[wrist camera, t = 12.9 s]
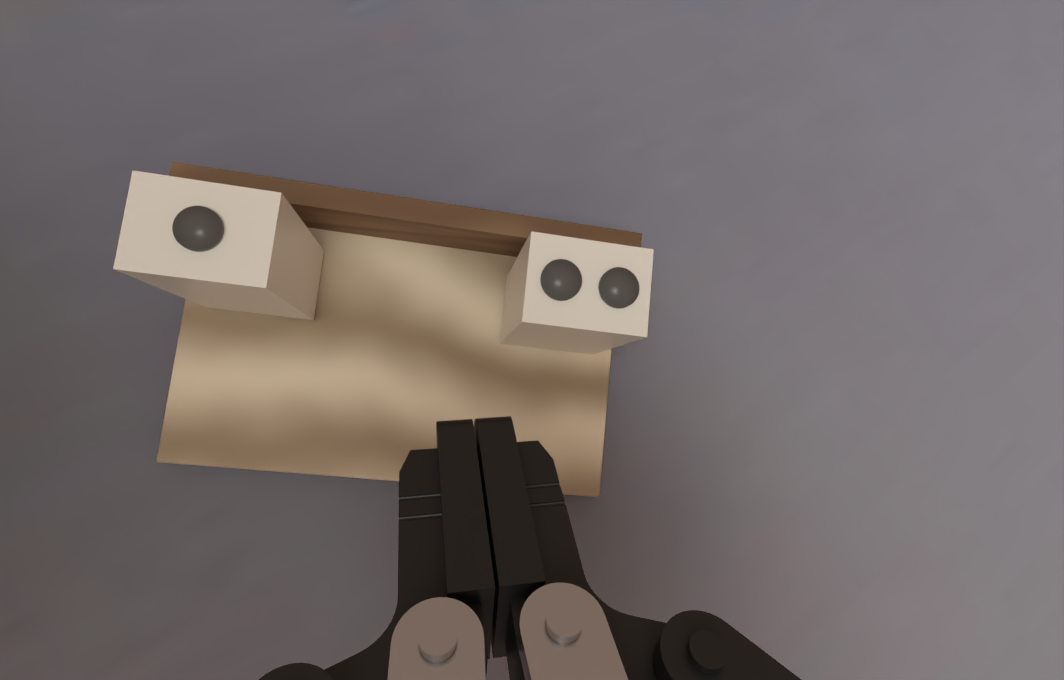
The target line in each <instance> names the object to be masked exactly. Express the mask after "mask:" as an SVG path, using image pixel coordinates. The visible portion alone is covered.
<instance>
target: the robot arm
mask: <svg viewBox="0 0 1064 680" xmlns="http://www.w3.org/2000/svg"><path fill="white" fill-rule="evenodd" d="M436 438H437V448H432V449H418V450H410V452H409V454H408V456H407V458H406V460H405V462H404V464H403V465H402V467H401V469H400V471H399V551H398V603H397V607H396V611H395V614H394V616H393V619H392V621H391V623H390V624H389V626H388V628H387V629H386V630H385V632H384V633H383V634H382V635H381V636H380V637H379V638H378V639H377V640H376V641H375V642H374V643H373V644H372V645H370V646H369V647H368V648H366V649H365V650H363V651H361V652H359V653H358V654H356V655H354V656H352V657H349V658H347V659H345V660H343V661H341V662H339V663H337V664H335V665H333V666H331V667H329V668H327V669H325V670H323V669H321V668H320V667H318V666H315V665H312V664H308V663H293V664H288V665H284V666H281V667H279V668H276V669H274V670H272V671H270V672H269V673H267V674H265V675H264V676H263V677H261V678H260V679H259V680H486V672H487V659H489V657H490V645H491V644H492V653H493V658H497V657H503V656H507V662H508V670H509V677H510V680H801V679H800V678H798V677H797V676H796V675H794V674H793V673H792V672H790V671H789V670H788V669H786V668H785V667H784V666H783V665H781V664H780V663H779V662H777V661H776V660H775V659H773V658H772V657H771V656H769V655H768V654H767V653H765V652H764V651H763V650H762V649H760V648H759V647H758V646H756V645H755V644H754V643H752V642H751V641H750V640H748V639H747V638H746V637H744V636H743V635H742V634H741V633H739V632H738V631H737V630H735V629H734V628H733V627H731V626H730V625H729V624H727V623H726V622H725V621H723V620H722V619H720V618H719V617H717V616H714V615H712V614H710V613H707V612H703V611H697V610H692V611H684V612H681V613H679V614H676V615H675V616H674V617H672V618H671V619H670V620H669V621H668V622H667V623H663V622H659V621H654V620H649V619H644V618H640V617H635V616H630V615H627V614H623V613H621V612H618V611H616V610H614V609H612V608H611V607H609V606H608V605H606V604H605V603H604V602H602V601H601V600H600V599H599V598H598V597H597V596H596V595H595V594H594V592H593V591H592V589H591V588H590V586H589V585H588V583H587V581H586V578H585V575H584V572H583V569H582V565H581V561H580V557H579V554H578V550H577V546H576V542H575V538H574V535H573V531H572V527H571V523H570V520H569V516H568V512H567V508H566V505H565V504H564V497H563V493H562V490H561V486H560V485H559V478H558V475H557V471H556V467H555V463H554V460H553V458H552V457H551V456H550V454H549V453H548V452H547V451H546V450H545V448H544V447H543V446H542V445H541V443H540V442H539V441H538V440H536V441H523V442H517V440H516V435H515V430H514V426H513V421H512V418H511V416H506V417H491V418H476V419H475V420H474V424H473V420H472V419H463V420H448V421H436Z"/></svg>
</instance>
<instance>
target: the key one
mask: <svg viewBox="0 0 1064 680" xmlns="http://www.w3.org/2000/svg"><path fill="white" fill-rule="evenodd" d="M323 255H324V250H323V248H322V247H321V245H320V244H319V243H318V241H317V240H316V239H315V237H314V236H313V235H312V233H311V232H310V231H309V229H308V228H307V226H306V225H305V224H304V222H303V221H302V220H301V218H300V217H299V216H298V214H297V213H296V212H295V210H294V209H293V208H292V206H291V205H290V203H289V202H288V201H287V199H286V198H285V197H284V195H283V194H282V193H281V192H274V191H267V190H260V189H254V188H247V187H240V186H234V185H227V184H220V183H213V182H207V181H200V180H193V179H187V178H180V177H173V176H166V175H160V174H153V173H146V172H139V171H132V176H131V181H130V187H129V192H128V197H127V202H126V207H125V212H124V217H123V222H122V227H121V232H120V237H119V242H118V248H117V253H116V258H115V263H114V268H113V269H114V270H117V271H119V272H121V273H124V274H126V275H129V276H131V277H133V278H136V279H138V280H141V281H143V282H145V283H148V284H150V285H153V286H155V287H158V288H160V289H162V290H165V291H167V292H170V293H172V294H174V295H177V296H179V297H182V298H184V299H186V300H189V301H191V302H194V303H196V304H198V305H201V306H203V307H206V308H214V309H222V310H231V311H239V312H248V313H256V314H265V315H273V316H282V317H290V318H299V319H307V320H314V315H315V308H316V302H317V295H318V288H319V282H320V275H321V268H322V261H323Z"/></svg>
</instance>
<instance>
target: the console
mask: <svg viewBox="0 0 1064 680" xmlns="http://www.w3.org/2000/svg"><path fill="white" fill-rule="evenodd" d="M170 176H173V177H180V178H187V179H193V180H200V181H207V182H213V183H220V184H227V185H234V186H240V187H247V188H254V189H260V190H267V191H274V192H281V193H282V194H283V195H284V197H285V198H286V199H287V201H288V202H289V203H290V205H291V206H292V208H293V209H294V210H295V212H296V213H297V214H298V216H299V217H300V218H301V220H302V221H303V222H304V224H305V225H306V226H307V228H308V229H309V231H310V232H311V233H312V235H313V236H314V237H315V239H316V240H317V241H318V243H319V244H320V245H321V247H322V248H323V250H324V255H323V261H322V268H321V275H320V282H319V288H318V295H317V302H316V308H315V315H314V320H307V319H299V318H290V317H282V316H273V315H265V314H256V313H248V312H239V311H231V310H222V309H214V308H206V307H203V306H201V305H198V304H196V303H194V302H191V301H189V300H186V299H185V305H184V310H183V316H182V322H181V327H180V333H179V338H178V344H177V350H176V355H175V361H174V366H173V372H172V378H171V383H170V389H169V394H168V400H167V405H166V411H165V417H164V422H163V428H162V433H161V439H160V445H159V450H158V456H157V461H156V462H163V463H176V464H189V465H201V466H214V467H226V468H239V469H251V470H264V471H277V472H289V473H302V474H314V475H327V476H340V477H352V478H365V479H377V480H390V481H399V471H400V469H401V467H402V465H403V464H404V462H405V460H406V458H407V456H408V454H409V452H410V450H418V449H432V448H437V438H436V421H448V420H463V419H472V420H473V424H474V420H475V419H476V418H491V417H506V416H511V418H512V421H513V426H514V430H515V435H516V440H517V442H523V441H536V440H538V441H539V442H540V443H541V445H542V446H543V447H544V448H545V450H546V451H547V452H548V453H549V454H550V456H551V457H552V458H553V460H554V463H555V467H556V471H557V475H558V478H559V485H560V486H561V490H562V493H563V494H566V495H579V496H591V497H599V492H600V480H601V468H602V456H603V444H604V432H605V420H606V408H607V395H608V383H609V371H610V359H611V349H608V350H605V351H602V352H599V353H596V354H585V353H577V352H568V351H560V350H551V349H543V348H534V347H526V346H517V345H509V344H500V335H501V326H502V316H503V307H504V298H505V288H506V279H507V275H508V273H509V271H510V270H511V268H512V266H513V264H514V262H515V260H516V259H517V257H518V255H519V253H520V251H521V249H522V248H523V246H524V244H525V242H526V240H527V238H528V237H529V235H530V233H531V231H532V232H539V233H546V234H553V235H559V236H566V237H573V238H579V239H586V240H593V241H600V242H606V243H613V244H620V245H627V246H633V247H640V248H641V239H642V233H635V232H629V231H622V230H616V229H609V228H603V227H596V226H589V225H583V224H576V223H570V222H563V221H557V220H550V219H544V218H537V217H530V216H524V215H517V214H511V213H504V212H498V211H491V210H484V209H478V208H471V207H465V206H458V205H452V204H445V203H438V202H432V201H425V200H419V199H412V198H406V197H399V196H392V195H386V194H379V193H373V192H366V191H360V190H353V189H346V188H340V187H333V186H327V185H320V184H314V183H307V182H301V181H294V180H287V179H281V178H274V177H268V176H261V175H255V174H248V173H241V172H235V171H228V170H222V169H215V168H209V167H202V166H195V165H189V164H182V163H176V162H172V165H171V170H170Z"/></svg>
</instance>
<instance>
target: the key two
mask: <svg viewBox="0 0 1064 680" xmlns="http://www.w3.org/2000/svg"><path fill="white" fill-rule="evenodd" d="M653 250H654V249H647V248H640V247H633V246H627V245H620V244H613V243H606V242H600V241H593V240H586V239H579V238H573V237H566V236H559V235H553V234H546V233H539V232H532V231H531V233H530V235H529V237H528V238H527V240H526V242H525V244H524V246H523V248H522V249H521V251H520V253H519V255H518V257H517V259H516V260H515V262H514V264H513V266H512V268H511V270H510V271H509V273H508V275H507V279H506V288H505V298H504V307H503V316H502V326H501V335H500V344H509V345H517V346H526V347H534V348H543V349H551V350H560V351H568V352H577V353H585V354H596V353H599V352H602V351H605V350H608V349H611V348H614V347H618V346H621V345H624V344H627V343H630V342H633V341H637V340H640V339H643V338H646V337H647V331H648V317H649V304H650V290H651V277H652V264H653Z"/></svg>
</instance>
